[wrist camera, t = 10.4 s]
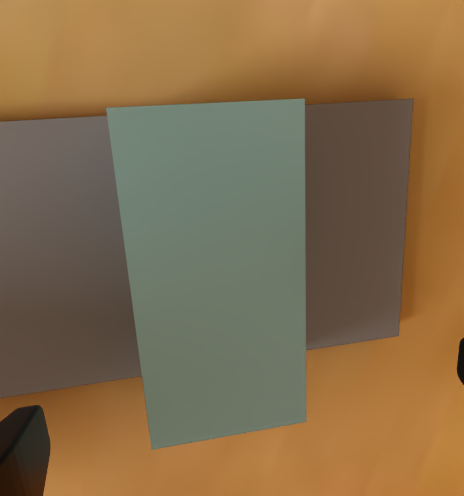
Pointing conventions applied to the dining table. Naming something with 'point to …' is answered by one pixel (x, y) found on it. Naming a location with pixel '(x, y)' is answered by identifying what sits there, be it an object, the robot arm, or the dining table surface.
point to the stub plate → (114, 257)
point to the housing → (215, 262)
